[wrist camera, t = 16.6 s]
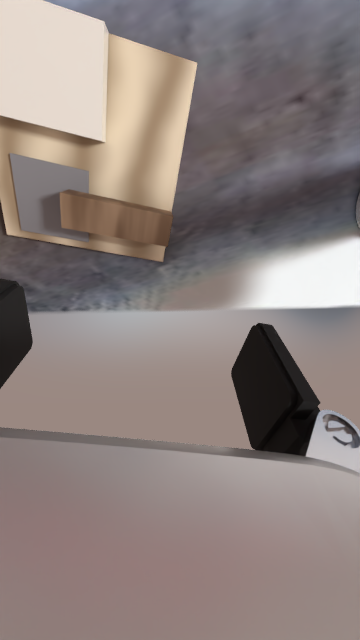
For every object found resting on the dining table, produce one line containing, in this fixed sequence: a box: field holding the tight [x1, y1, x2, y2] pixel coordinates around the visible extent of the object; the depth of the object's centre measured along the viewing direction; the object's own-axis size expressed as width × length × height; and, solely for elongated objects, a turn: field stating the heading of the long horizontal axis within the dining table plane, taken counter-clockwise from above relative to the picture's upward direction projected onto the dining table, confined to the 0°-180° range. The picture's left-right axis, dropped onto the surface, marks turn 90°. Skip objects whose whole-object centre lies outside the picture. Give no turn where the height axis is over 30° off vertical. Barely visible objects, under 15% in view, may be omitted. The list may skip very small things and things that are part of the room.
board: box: [0, 34, 197, 262], centre depth 26 cm, size 20×20×1 cm
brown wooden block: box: [60, 189, 173, 247], centre depth 28 cm, size 4×4×12 cm
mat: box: [10, 153, 89, 242], centre depth 28 cm, size 8×8×1 cm
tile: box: [0, 0, 109, 143], centre depth 21 cm, size 2×8×12 cm
